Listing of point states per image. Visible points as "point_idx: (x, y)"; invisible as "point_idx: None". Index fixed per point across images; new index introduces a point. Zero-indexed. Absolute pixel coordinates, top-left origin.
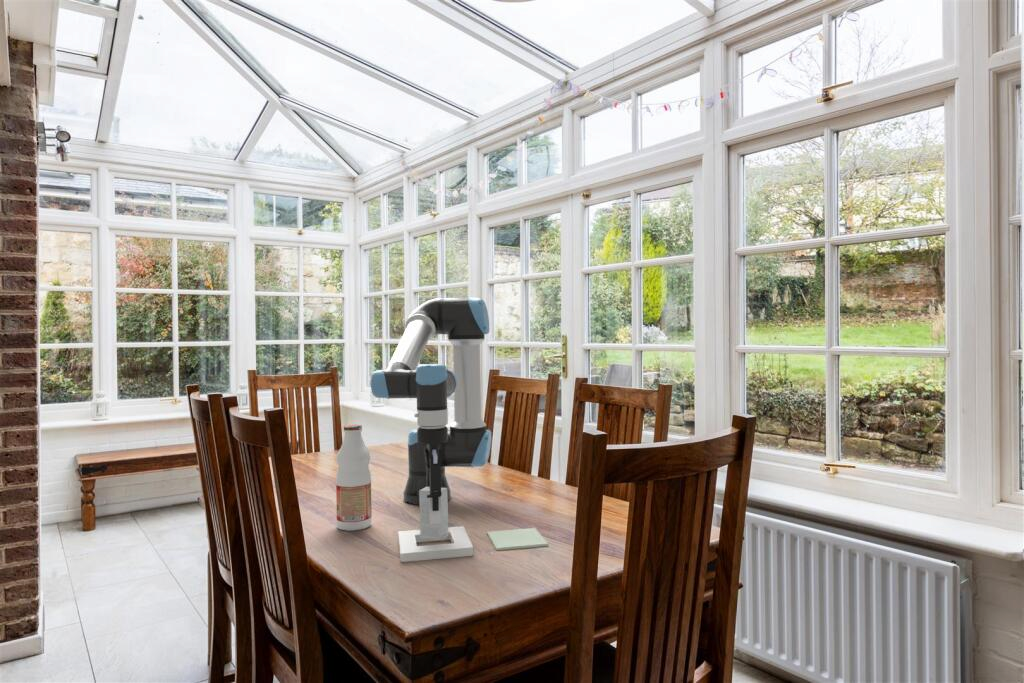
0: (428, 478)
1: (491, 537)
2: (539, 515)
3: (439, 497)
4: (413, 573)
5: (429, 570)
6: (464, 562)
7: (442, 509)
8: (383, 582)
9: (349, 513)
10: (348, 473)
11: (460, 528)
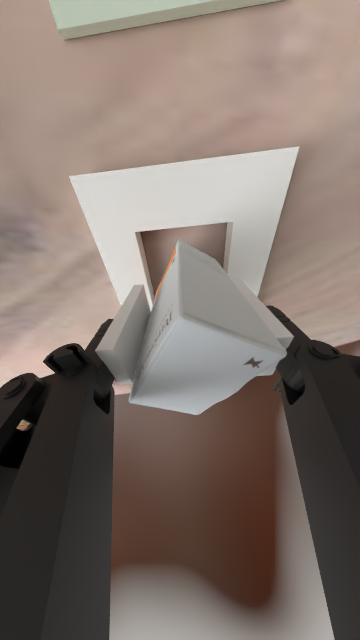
0: (110, 459)
1: (137, 4)
2: None
3: (286, 337)
4: (301, 301)
5: (306, 277)
6: (314, 193)
7: (232, 287)
8: (305, 333)
9: None
10: None
11: (97, 191)
